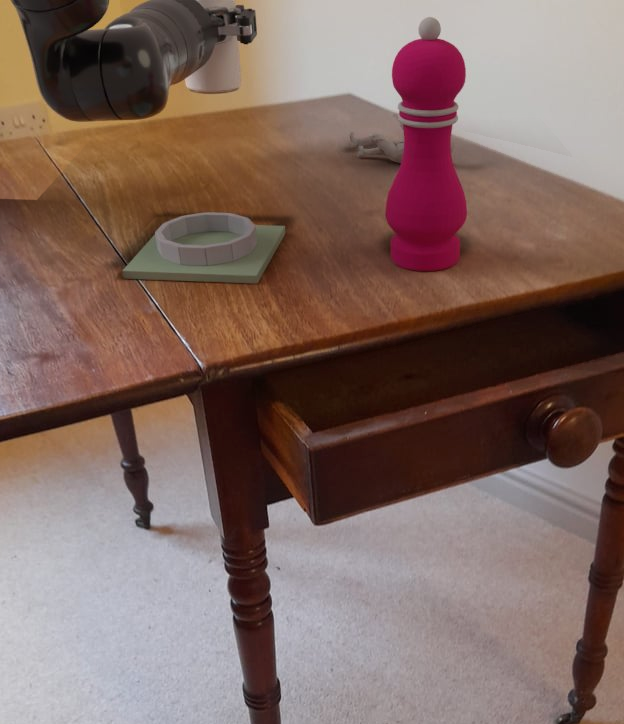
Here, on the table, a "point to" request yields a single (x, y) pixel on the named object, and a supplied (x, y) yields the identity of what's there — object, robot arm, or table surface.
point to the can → (218, 63)
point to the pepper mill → (427, 154)
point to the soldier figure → (381, 146)
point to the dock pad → (210, 273)
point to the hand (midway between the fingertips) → (212, 14)
